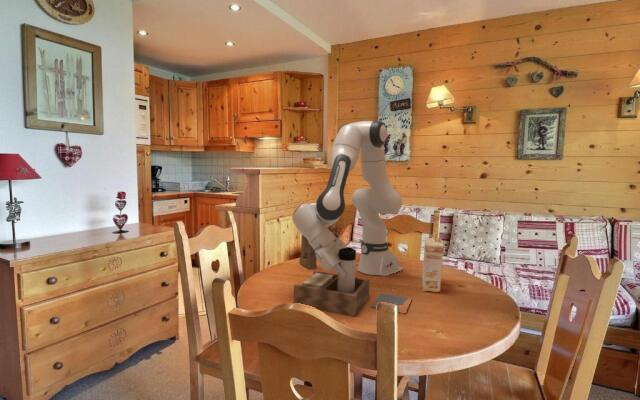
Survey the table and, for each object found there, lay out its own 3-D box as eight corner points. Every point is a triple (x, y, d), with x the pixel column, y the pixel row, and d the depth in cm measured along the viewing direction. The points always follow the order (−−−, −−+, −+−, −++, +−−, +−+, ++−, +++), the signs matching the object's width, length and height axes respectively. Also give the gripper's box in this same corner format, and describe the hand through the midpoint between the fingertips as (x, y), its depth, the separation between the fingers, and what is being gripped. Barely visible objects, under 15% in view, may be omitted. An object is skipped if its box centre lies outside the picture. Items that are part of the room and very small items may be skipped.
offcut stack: (301, 302, 130) (302, 282, 129) (315, 291, 142) (315, 272, 141) (321, 306, 127) (321, 286, 127) (333, 294, 140) (333, 275, 139)
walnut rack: (293, 304, 128) (294, 285, 127) (314, 287, 146) (314, 270, 145) (354, 316, 120) (355, 296, 119) (368, 297, 137) (369, 279, 136)
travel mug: (355, 300, 133) (358, 248, 131) (351, 307, 127) (353, 252, 125) (339, 297, 135) (341, 246, 133) (334, 304, 129) (336, 250, 127)
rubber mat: (380, 294, 140) (380, 293, 140) (411, 300, 136) (412, 298, 136) (371, 307, 127) (371, 306, 127) (406, 314, 123) (406, 312, 123)
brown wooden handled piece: (309, 269, 169) (311, 232, 167) (299, 263, 178) (300, 227, 176) (316, 268, 171) (317, 231, 169) (305, 262, 180) (306, 227, 178)
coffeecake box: (440, 293, 144) (444, 246, 141) (422, 291, 145) (425, 244, 143) (438, 281, 158) (442, 238, 156) (421, 279, 160) (425, 237, 158)
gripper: (319, 243, 121) (345, 275, 119) (338, 232, 140) (361, 260, 138) (306, 254, 123) (332, 286, 121) (327, 242, 142) (350, 270, 140)
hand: (348, 272), depth 129 cm, fingers closed on travel mug, 6 cm apart
